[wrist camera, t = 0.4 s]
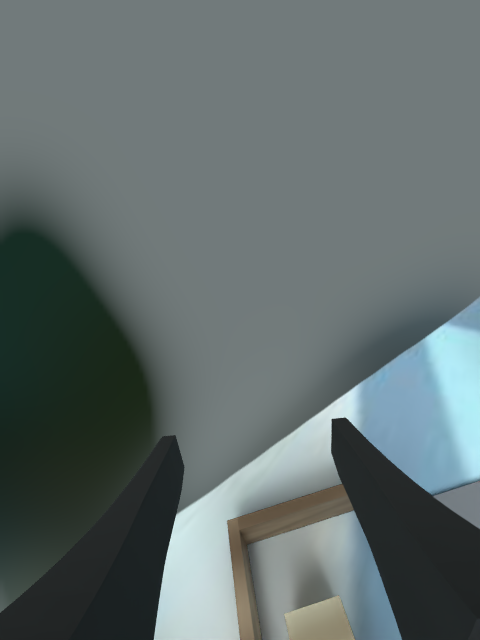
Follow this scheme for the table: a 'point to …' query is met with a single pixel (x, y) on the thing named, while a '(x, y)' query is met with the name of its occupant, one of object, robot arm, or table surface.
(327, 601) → the birch block
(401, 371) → the table surface
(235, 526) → the open wooden frame
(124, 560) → the robot arm
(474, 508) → the mat
